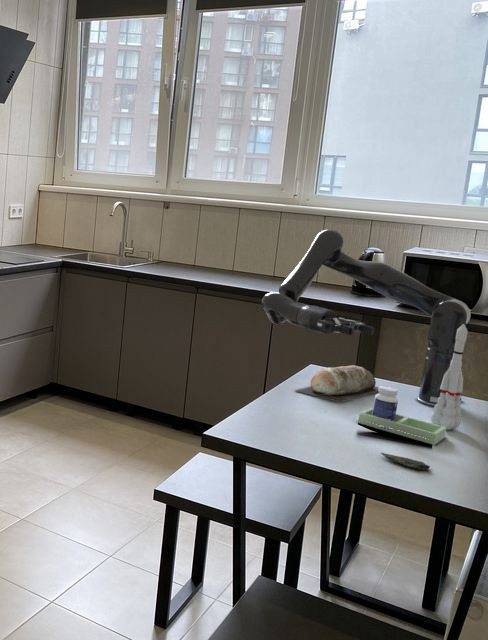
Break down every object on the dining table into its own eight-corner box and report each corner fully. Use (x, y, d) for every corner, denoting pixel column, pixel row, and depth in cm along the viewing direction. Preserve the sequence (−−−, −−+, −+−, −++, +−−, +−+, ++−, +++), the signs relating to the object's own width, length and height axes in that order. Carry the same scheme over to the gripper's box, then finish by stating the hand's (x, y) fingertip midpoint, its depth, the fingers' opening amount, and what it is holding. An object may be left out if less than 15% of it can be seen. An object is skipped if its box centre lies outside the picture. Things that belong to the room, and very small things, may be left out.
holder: (370, 416, 214) (371, 406, 213) (444, 437, 200) (446, 427, 200) (358, 422, 206) (359, 412, 206) (434, 445, 193) (436, 434, 193)
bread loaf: (332, 378, 258) (335, 351, 257) (387, 388, 246) (390, 361, 245) (293, 397, 233) (295, 368, 231) (352, 410, 221) (355, 380, 219)
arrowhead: (378, 456, 181) (379, 450, 181) (422, 463, 179) (423, 457, 178) (386, 467, 174) (387, 461, 174) (432, 474, 172) (433, 468, 172)
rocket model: (426, 421, 214) (445, 319, 209) (455, 426, 211) (475, 323, 207) (432, 429, 207) (452, 324, 202) (462, 434, 205) (483, 328, 200)
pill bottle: (396, 427, 203) (402, 392, 202) (374, 424, 204) (380, 389, 203) (389, 421, 209) (395, 387, 207) (368, 418, 210) (374, 384, 208)
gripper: (331, 330, 231) (377, 343, 216) (298, 331, 225) (343, 345, 210) (335, 307, 230) (382, 318, 215) (302, 307, 224) (347, 319, 209)
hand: (362, 331), depth 213 cm, fingers open, 8 cm apart
